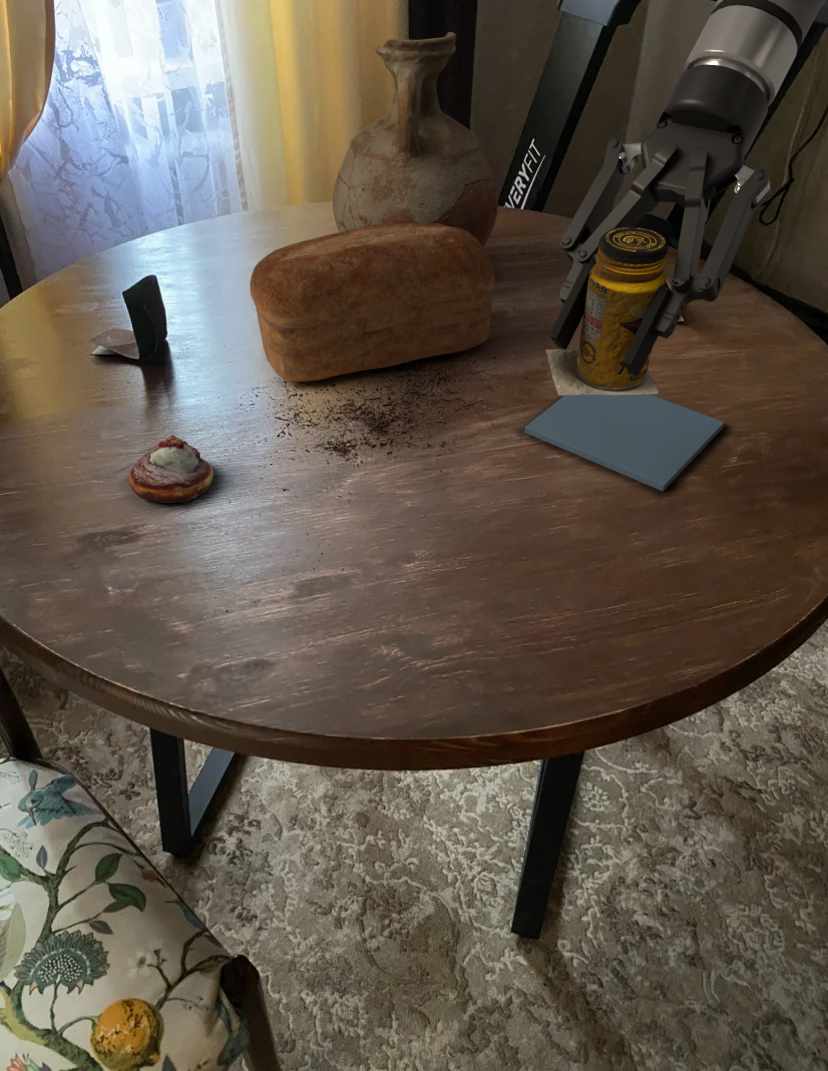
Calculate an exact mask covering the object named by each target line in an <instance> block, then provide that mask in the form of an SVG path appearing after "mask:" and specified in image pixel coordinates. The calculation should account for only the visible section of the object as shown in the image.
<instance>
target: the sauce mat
mask: <svg viewBox="0 0 828 1071" xmlns="http://www.w3.org/2000/svg"><path fill="white" fill-rule="evenodd" d="M724 426H725V421H723V420H720V419H717V418H715V417H712V416H710V415H706V414H704V413H701V412H699V411H696V410H693V409H690V408H687V407H685V406H682V405H680V404H677V403H674V402H671V401H668V400H665V399H664V398H662V397H661V398H660V397H658V396H655V395H654V394H647V395H646V394H640V395H603V394H601V395H597V394H592V395H585V394H580V395H562V397H561V398H559V400H557V401H556V402H554V403H553V404H551V406H549V407H548V408H547V409H545V411H543V412H542V413H541V414H539V415H538V416H537V417H536V418H534V419H533V420H531V421H530V423H528V424H526V426H525V427H524V434H526V435H529V436H530V437H534V438H536V439H538V440H541V441H543V442H545V443H547V444H550V445H552V446H555V447H557V448H559V449H562V450H564V451H567V452H568V453H571V454H573V455H576V456H578V457H580V458H583V459H585V460H588V461H590V462H592V463H594V464H597V465H599V466H602V467H604V468H606V469H608V470H611V471H613V472H616V473H618V474H620V475H623V476H625V477H628V478H629V479H632V480H635V481H637V482H639V483H641V484H644V485H647V486H649V487H652V488H653V489H656V490H658V491H661V492H664V491H665V490H666V489H667V488H668V487H669V486H670V485H671V484H672V483H673V482H674V480H675V479H676V478H678V476H679V475H680V474H681V473H682V472H684V470H685V469H686V468H687V467H688V466H689V465H690V464H691V463H692V462H693V461H694V459H695V458H696V457H698V455H699V454H700V453H701V452H702V451H703V450H704V449H705V448H706V447H707V446H708V445H709V443H710V442H711V441H712V440H713V439H715V437H716V436H717V435H718V434H719V433H720V431H722V430H723V429H724Z"/></svg>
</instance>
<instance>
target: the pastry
mask: <svg viewBox="0 0 828 1071" xmlns="http://www.w3.org/2000/svg"><path fill="white" fill-rule="evenodd" d="M214 472H215V470H214V469H213V468H212V466H211V465H210V464H209V462H208V461H207V460H205V459H203V458H202V457H201V452H200V451H199V450H198V449H197V448H196V447H193V446H191V445H190V444H189V443H188V442H187V441H186V440H183V439H181V438H178V437H177V436H175V435H174V434H171V435H170V436H168V437H167V438H166V439H165V440H163V441H161V440H160V441H159V443H158V445H156V447H155V449H152V450H149V451H147V452H146V453H145V454H144V455H142V456H141V457H139V459H138V460H137V461H136V462H135V464H134V466H133V467H132V469H131V470H130V472H129V475H128V482H129V485H130V488H131V491H132V492H133V493H134V494H135V495H136V496H138V497H139V499H141V500H145V501H150V502H154V503H158V504H174V503H176V504H177V503H187V502H190V501H191V500H193V499H195V498H197V497H199V496H201V495H202V494H205V492H206V491H207V490H209V489H210V488H211V486H212V482H213V480H214Z"/></svg>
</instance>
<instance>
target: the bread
mask: <svg viewBox="0 0 828 1071" xmlns="http://www.w3.org/2000/svg"><path fill="white" fill-rule="evenodd" d="M495 277H496V272H495V267H494V265H493V263H492V261H491V260H490V257H489V256H488V253H487V252H486V250H485V248H484V247H482V245H481V244H480V242H479V241H478V239H477V238H476V237H474V236H473V235H471V234H470V233H469V232H467V231H465V230H463V229H461V228H455V227H449V226H445V225H442V224H439V223H432V224H417V223H407V224H391V225H366V226H362V227H358V228H355V229H351V230H347V231H344V232H340V233H339V232H335V233H331V234H326V235H322V236H319V237H314V238H311V239H306V240H302V241H299V242H295V243H291V244H288V245H285V246H283V247H280V248H278V249H274V250H273V251H271V252H270V253H269V254H267V255H266V256H264V257H263V258H261V259H260V261H258V262H257V263H256V265H254V268H253V271H252V274H251V276H250V281H249V291H250V292H249V293H250V295H249V296H250V297H251V299H252V301H253V303H254V307H255V311H256V317H257V321H258V322H257V323H258V326H259V331H260V336H261V342H262V343H261V344H262V348H263V351H264V354H265V357H266V360H267V362H268V364H269V365H270V366H271V368H272V369H273V371H274V372H275V373H276V375H278V376H279V377H281V378H282V379H284V380H286V381H287V382H291V383H292V382H293V383H299V382H301V383H302V382H313V381H314V382H315V381H321V380H326V379H329V378H333V377H337V376H341V375H346V374H352V373H356V372H362V371H368V370H373V369H374V370H375V369H382V368H388V367H394V366H397V365H401V364H405V363H409V362H414V361H417V360H422V359H427V358H431V357H436V356H443V355H451V354H456V353H460V352H463V351H468V350H470V349H473V348H475V347H478V346H479V345H481V344H483V343H484V342H485V341H486V340H487V339H488V336H489V330H490V326H491V321H492V316H493V296H494V295H493V294H494V288H495Z"/></svg>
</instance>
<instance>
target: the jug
mask: <svg viewBox="0 0 828 1071" xmlns="http://www.w3.org/2000/svg"><path fill="white" fill-rule="evenodd" d="M456 40H457V34H456V33H454V32H452V31H448V32H447V33H446V34H445V35H444V36H443V37H434V38H425V39H399V38H397V39H396V38H395V39H393V38H392V39H390V38H389V39H388V40H386V42H384V44H383V45H381V46H380V45H378V46H376V47H375V48H374V49H375V50H374V52H375V53H376V54H377V55H378V56H379V57H381V59H382V61H383V63H384V67H385V68H386V69H387V70H388V71H389V72H390V74H391V76H392V78H393V84H394V96H393V100H392V104H391V108H390V109H389V111H387V113H385V114H384V115H382V116H380V117H378V118H377V119H375V120H374V121H373V122H371V123H370V124H368V125H367V126H365V127H364V128H363V129H361V130H360V131H359V132H358V133H357V134H355V135H354V137H353V138H352V139H351V140H350V143H349V146H348V148H347V150H346V153H345V154H344V157H343V159H342V161H341V164H340V167H339V170H338V173H337V176H336V179H335V183H334V185H333V194H332V210H333V216H334V221H335V225H336V228H337V231H338V233H340V232H344V231H347V230H351V229H355V228H358V227H362V226H366V225H391V224H407V223H417V224H432V223H439V224H442V225H445V226H449V227H455V228H461V229H463V230H465V231H467V232H469V233H470V234H471V235H473V236H474V237H476V238H477V239H478V241H479V242H480V244H481V245H482V247H483V248H484V247H485V245H486V244H487V242H488V240H489V238H490V236H491V235H492V232H493V230H494V227H495V225H496V222H497V218H498V210H499V198H498V191H497V190H498V189H497V186H496V181H495V176H494V173H493V169H492V166H491V163H490V161H489V159H488V156H487V154H486V152H485V151H484V148H483V146H482V144H481V142H480V139H479V137H478V135H476V134H475V133H474V132H473V131H472V130H470V129H469V128H467V127H466V126H465V125H463V124H462V123H460V122H459V121H457V120H456V119H455V118H453V117H451V116H450V115H448V114H446V113H445V112H443V111H442V109H441V106H440V103H439V98H438V91H437V81H438V77H439V75H440V73H441V72H442V71H443V69H445V68H446V66H447V64H448V61H449V58H450V57H451V56H452V55H453V54H454V53H455V52H456V50H457V47H456Z"/></svg>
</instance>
